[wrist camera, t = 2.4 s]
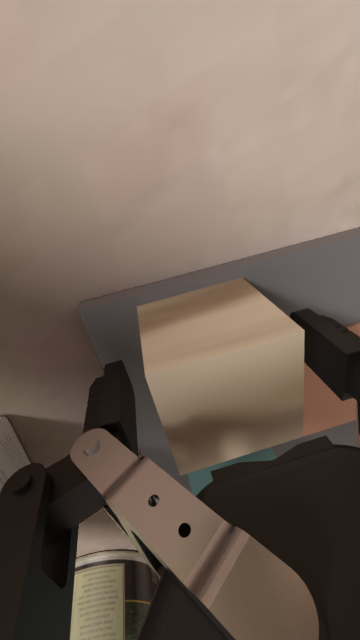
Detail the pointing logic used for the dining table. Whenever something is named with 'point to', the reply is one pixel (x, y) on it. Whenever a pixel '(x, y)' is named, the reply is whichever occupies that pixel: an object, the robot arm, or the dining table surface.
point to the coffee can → (111, 595)
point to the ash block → (223, 372)
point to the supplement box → (10, 452)
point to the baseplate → (278, 287)
